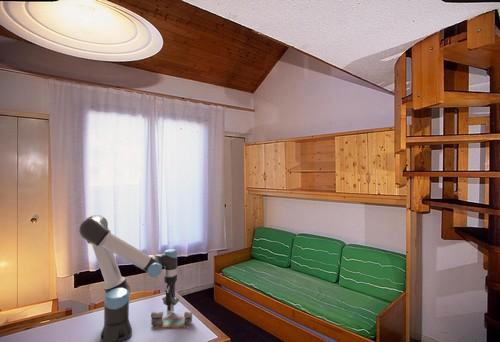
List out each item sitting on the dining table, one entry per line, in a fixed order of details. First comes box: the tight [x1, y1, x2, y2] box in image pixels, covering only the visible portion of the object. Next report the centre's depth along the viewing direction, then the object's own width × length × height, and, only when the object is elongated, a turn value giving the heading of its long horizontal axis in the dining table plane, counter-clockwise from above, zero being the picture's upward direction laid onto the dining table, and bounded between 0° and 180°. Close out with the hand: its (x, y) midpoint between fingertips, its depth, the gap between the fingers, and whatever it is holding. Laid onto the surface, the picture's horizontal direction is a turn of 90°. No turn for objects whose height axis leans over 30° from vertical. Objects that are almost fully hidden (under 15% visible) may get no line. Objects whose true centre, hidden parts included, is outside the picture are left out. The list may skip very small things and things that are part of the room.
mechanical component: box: [161, 295, 180, 307], centre depth 165 cm, size 3×10×10 cm, turn 78°
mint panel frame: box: [150, 311, 193, 329], centre depth 154 cm, size 23×9×7 cm, turn 91°
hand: (170, 313), depth 164 cm, fingers open, 4 cm apart
